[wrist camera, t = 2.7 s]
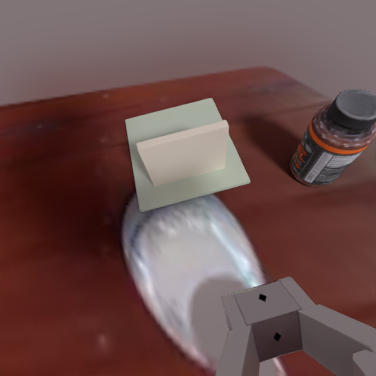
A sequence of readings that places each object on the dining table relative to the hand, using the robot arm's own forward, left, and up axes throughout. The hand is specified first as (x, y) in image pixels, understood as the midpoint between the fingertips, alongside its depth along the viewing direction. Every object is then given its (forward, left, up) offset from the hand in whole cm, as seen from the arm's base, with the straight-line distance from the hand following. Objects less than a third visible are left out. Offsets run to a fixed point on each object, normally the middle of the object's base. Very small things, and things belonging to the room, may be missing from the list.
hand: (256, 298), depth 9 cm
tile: (0, +17, -16) cm, 23 cm away
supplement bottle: (+16, +13, -16) cm, 26 cm away
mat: (0, +22, -16) cm, 27 cm away
